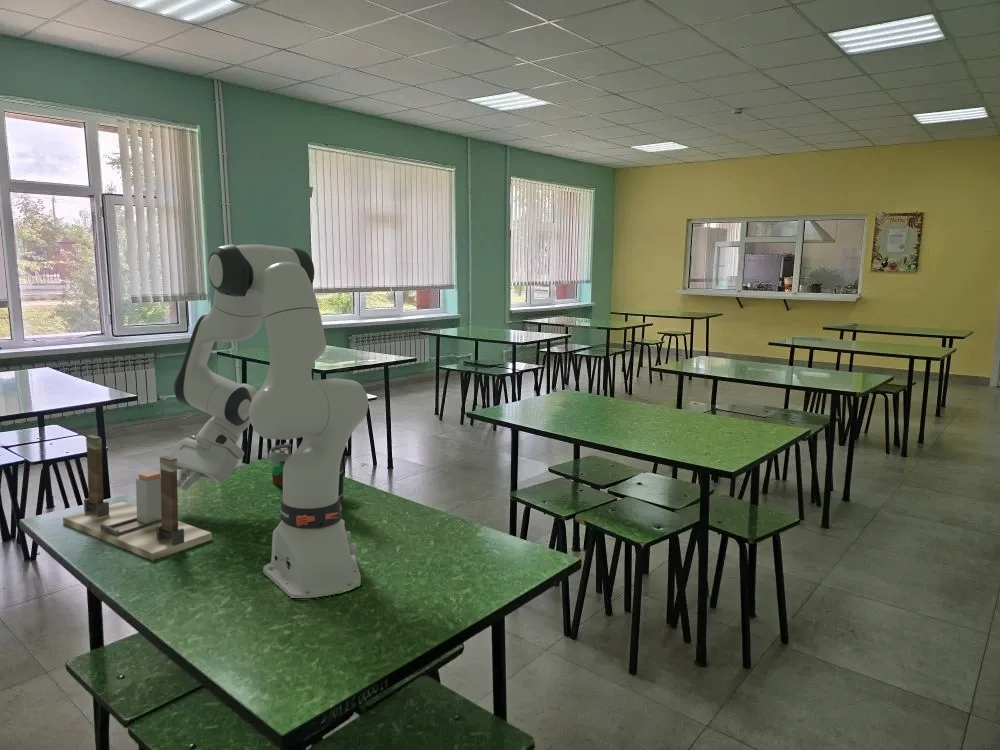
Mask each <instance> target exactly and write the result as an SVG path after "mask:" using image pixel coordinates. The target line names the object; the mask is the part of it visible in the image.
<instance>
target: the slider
mask: <svg viewBox="0 0 1000 750" xmlns="http://www.w3.org/2000/svg"><path fill="white" fill-rule="evenodd" d="M135 493H136V495H135V496H136V506H137V520H138V521H140V522H143V523H146V524H147V523H150V522H153V521H156V520H160V519H162V516H161V472H156V471H152V470H151V471H146V472H142V473H139V474H138V477H136V478H135Z"/></svg>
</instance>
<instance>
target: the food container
mask: <svg viewBox="0 0 1000 750" xmlns="http://www.w3.org/2000/svg"><path fill="white" fill-rule="evenodd" d="M291 451H292V444H291V443H285V444H284V443H283V444H278V445H275V446H272V447H271V448H270V450H269V452H268V456H267V457H268V459H270V464H271V477H272V484H274V486H275V485H277V486H276V487H278V486H283V467H284V464H285V462H286V460H287V459H288V458H289V456H291V455H292V452H291Z"/></svg>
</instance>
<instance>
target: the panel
mask: <svg viewBox="0 0 1000 750" xmlns="http://www.w3.org/2000/svg"><path fill="white" fill-rule="evenodd" d="M89 503H90V502H89V497H88V498H84V499H83V507H84V508H83V509H84V511H81V512H78V513H74V514H70V515H67V516H63V517H62V522H63V523H62V524H63V525H65V524H66V525H65V526H67V525H68V527H69V526H70V528H72V527H73V528H72V529H74V528H75V530H77V531H80V532H82V533H85V534H86V535H89V536H91V535H92V537H94V536H95V537H94V538H96V537H97V539H99V540H101V539H102V540H101V541H104V540H105V541H104V542H106V541H107V542H106V543H108V542H109V544H111V543H112V544H111V545H113V544H114V545H113V546H116V545H117V546H116V547H118V546H119V547H118V548H121V549H123V550H125V549H126V551H128V552H130V551H131V553H133V554H135V555H137V556H140V557H142V558H145V559H148V560H150V561H153V562H154V561H155V559H156V560H159V559H162V558H165V557H168V556H169V555H172V554H176V553H178V552H180V551H181V552H182V551H184V550H187V549H189V548H190V549H191V548H192V547H195V546H197V545H201V544H204V543H206V542H210V541H212V540H213V539H212V536H213V535H212V534H213V533H212V532H211V531H208V530H205V529H201V528H200V527H196V526H193V525H190V524H188V523H185V522H182V521H179V520H178V530H175V531H172V532H171V539H169V538H166V537H163V536H162V535H161V531H162V530H163V529H162V519H160V520H156V521H153V522H150V523H147V524H146V523H143V522H140V521H138V520H137V505H135V504H134V505H133V504H131V503H128V502H126V501H119V502H116V503H112V504H110V502H109V501H107V500H106V501H103V502H102V503H99V504H96V507H97V511H94V510H92V509H89V508H88V505H89ZM161 557H162V558H161Z"/></svg>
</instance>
